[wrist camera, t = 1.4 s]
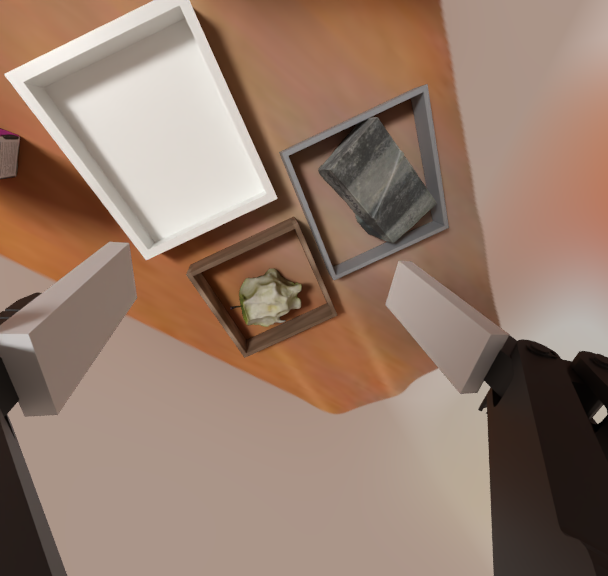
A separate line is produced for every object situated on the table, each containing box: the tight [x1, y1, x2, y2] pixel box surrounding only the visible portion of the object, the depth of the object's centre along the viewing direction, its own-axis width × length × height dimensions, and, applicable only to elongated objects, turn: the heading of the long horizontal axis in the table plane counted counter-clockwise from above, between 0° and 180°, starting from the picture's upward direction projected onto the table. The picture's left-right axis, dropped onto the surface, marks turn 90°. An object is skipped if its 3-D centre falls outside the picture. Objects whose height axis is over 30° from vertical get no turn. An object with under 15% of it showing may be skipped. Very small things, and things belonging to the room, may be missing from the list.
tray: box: [4, 0, 278, 260], centre depth 32 cm, size 20×18×4 cm
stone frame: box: [279, 84, 449, 280], centre depth 39 cm, size 19×19×3 cm
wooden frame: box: [186, 217, 337, 357], centre depth 43 cm, size 16×16×4 cm
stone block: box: [318, 117, 436, 243], centre depth 38 cm, size 9×14×5 cm, turn 45°
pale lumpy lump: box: [230, 269, 302, 327], centre depth 42 cm, size 9×9×8 cm
